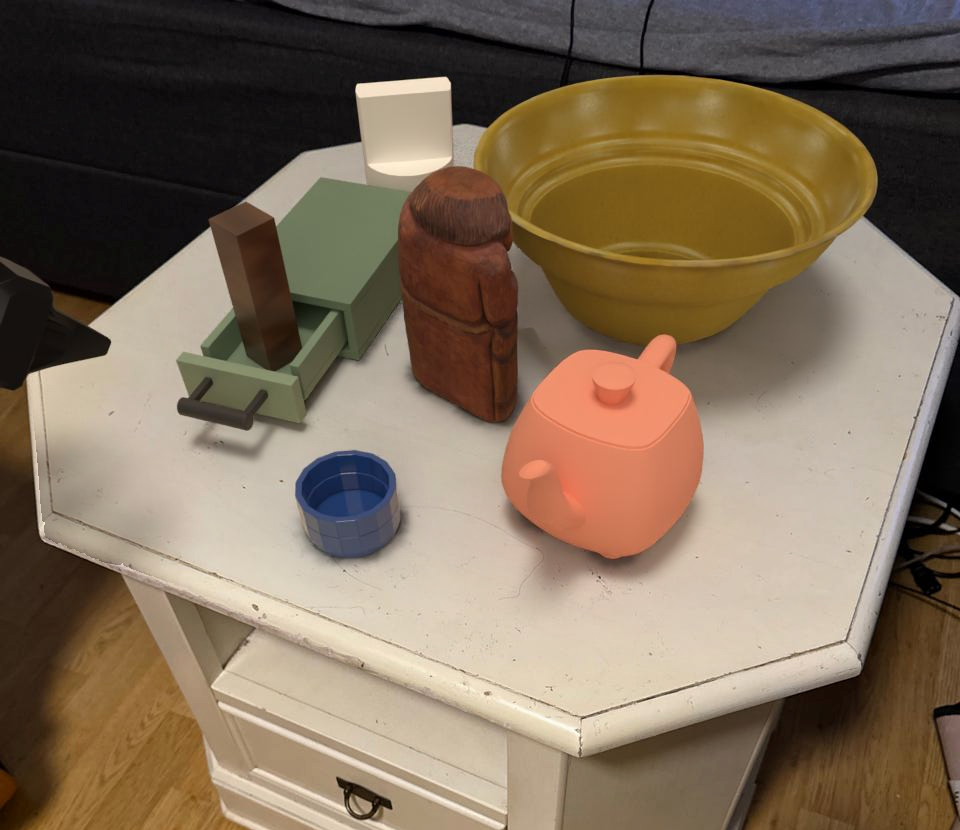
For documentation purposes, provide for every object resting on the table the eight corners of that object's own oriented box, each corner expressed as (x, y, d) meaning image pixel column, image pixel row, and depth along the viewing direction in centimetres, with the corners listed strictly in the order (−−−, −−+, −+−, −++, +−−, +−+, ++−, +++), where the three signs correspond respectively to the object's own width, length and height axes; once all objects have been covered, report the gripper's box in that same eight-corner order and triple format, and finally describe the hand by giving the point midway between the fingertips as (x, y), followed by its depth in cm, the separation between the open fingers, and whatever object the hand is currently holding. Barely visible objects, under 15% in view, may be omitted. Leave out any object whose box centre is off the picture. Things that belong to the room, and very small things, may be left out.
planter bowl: (523, 196, 92) (526, 54, 81) (832, 235, 87) (881, 88, 76) (433, 381, 74) (421, 231, 63) (816, 445, 69) (876, 292, 58)
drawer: (277, 457, 68) (266, 419, 65) (162, 430, 70) (147, 392, 67) (384, 304, 79) (379, 265, 76) (283, 284, 82) (275, 246, 78)
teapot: (443, 560, 62) (432, 429, 52) (581, 408, 72) (594, 273, 62) (604, 642, 58) (626, 516, 48) (729, 468, 67) (768, 333, 57)
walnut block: (271, 373, 72) (236, 236, 62) (246, 356, 73) (207, 218, 64) (304, 354, 73) (274, 217, 64) (278, 338, 75) (245, 200, 65)
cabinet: (359, 361, 76) (350, 304, 71) (243, 336, 78) (227, 280, 74) (434, 250, 86) (430, 195, 82) (329, 232, 88) (320, 176, 84)
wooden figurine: (543, 396, 73) (555, 181, 58) (494, 435, 70) (493, 219, 55) (441, 341, 77) (428, 129, 63) (392, 376, 75) (366, 162, 60)
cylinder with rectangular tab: (450, 187, 93) (445, 63, 84) (461, 231, 88) (456, 104, 78) (368, 195, 93) (352, 70, 83) (373, 239, 87) (358, 112, 78)
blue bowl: (304, 563, 62) (293, 525, 59) (306, 493, 67) (296, 454, 63) (403, 555, 63) (398, 516, 59) (398, 485, 67) (393, 446, 64)
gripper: (-80, 120, 38) (198, 255, 51) (-238, 11, 45) (40, 153, 59) (-149, 353, 41) (130, 423, 54) (-285, 215, 49) (-11, 306, 62)
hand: (71, 318), depth 57 cm, fingers open, 9 cm apart
